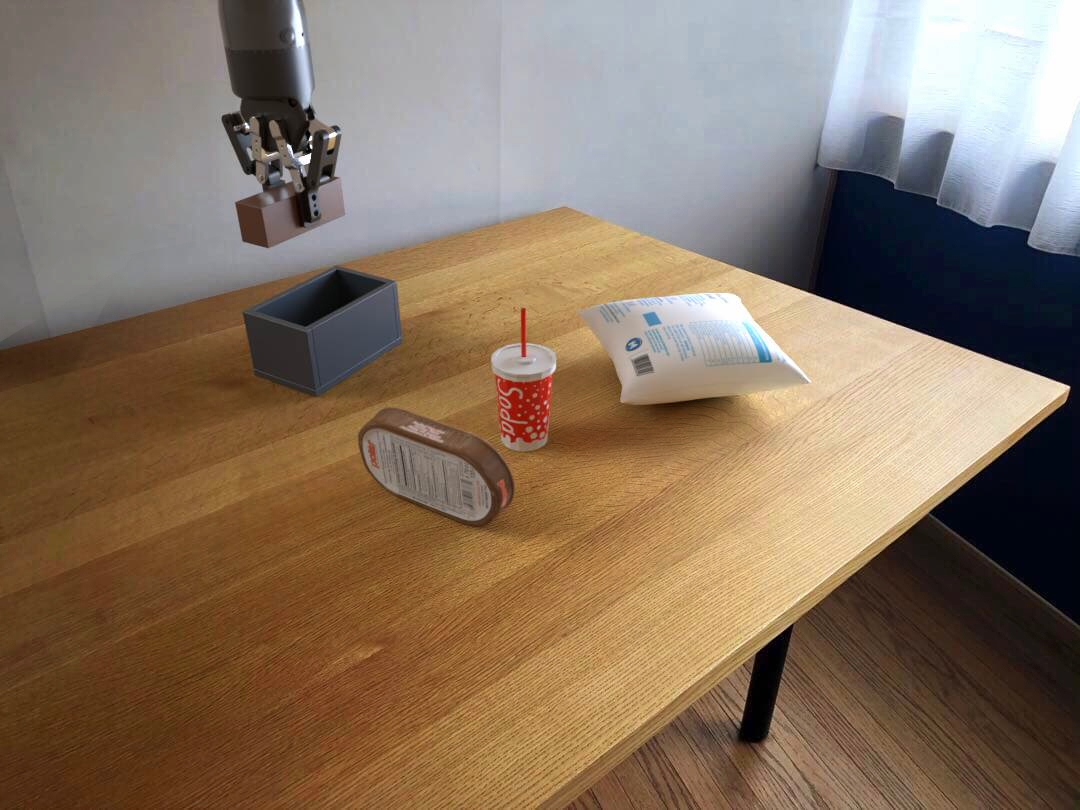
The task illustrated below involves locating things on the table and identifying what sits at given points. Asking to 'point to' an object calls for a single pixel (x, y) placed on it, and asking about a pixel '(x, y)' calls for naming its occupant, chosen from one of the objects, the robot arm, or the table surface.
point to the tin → (436, 466)
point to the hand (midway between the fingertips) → (294, 221)
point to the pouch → (689, 348)
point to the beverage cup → (523, 392)
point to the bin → (323, 329)
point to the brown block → (284, 213)
